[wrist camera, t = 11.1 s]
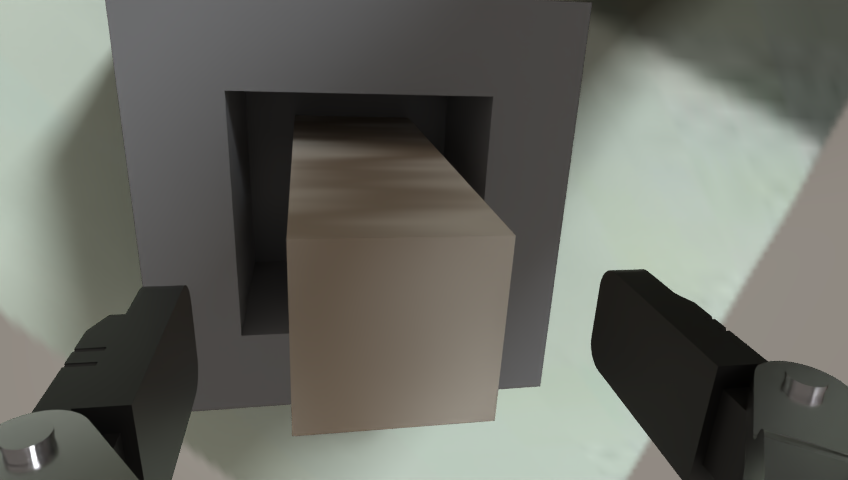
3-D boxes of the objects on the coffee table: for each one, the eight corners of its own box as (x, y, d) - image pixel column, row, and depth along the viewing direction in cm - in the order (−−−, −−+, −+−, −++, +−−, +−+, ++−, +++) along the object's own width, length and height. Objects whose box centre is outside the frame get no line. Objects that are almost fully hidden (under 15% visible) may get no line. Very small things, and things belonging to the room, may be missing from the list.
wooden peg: (408, 117, 22) (515, 235, 11) (403, 222, 23) (494, 420, 12) (294, 115, 21) (286, 238, 10) (297, 224, 22) (292, 436, 12)
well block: (515, 2, 22) (591, 2, 16) (487, 301, 26) (539, 386, 20) (160, -17, 20) (102, -24, 14) (193, 314, 24) (159, 413, 18)
